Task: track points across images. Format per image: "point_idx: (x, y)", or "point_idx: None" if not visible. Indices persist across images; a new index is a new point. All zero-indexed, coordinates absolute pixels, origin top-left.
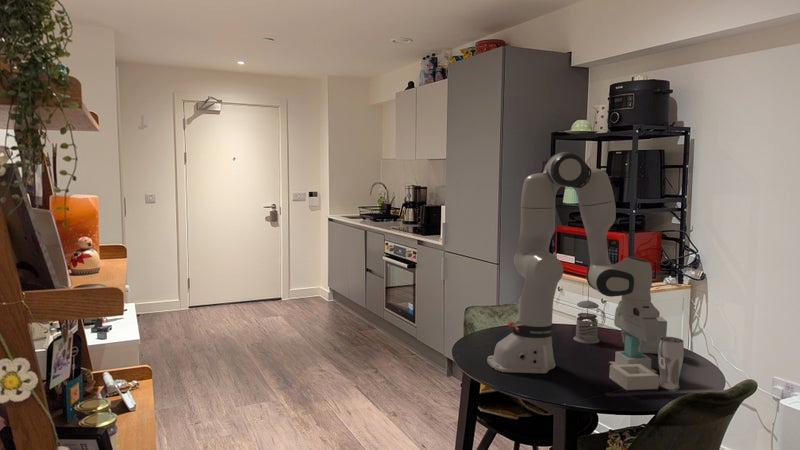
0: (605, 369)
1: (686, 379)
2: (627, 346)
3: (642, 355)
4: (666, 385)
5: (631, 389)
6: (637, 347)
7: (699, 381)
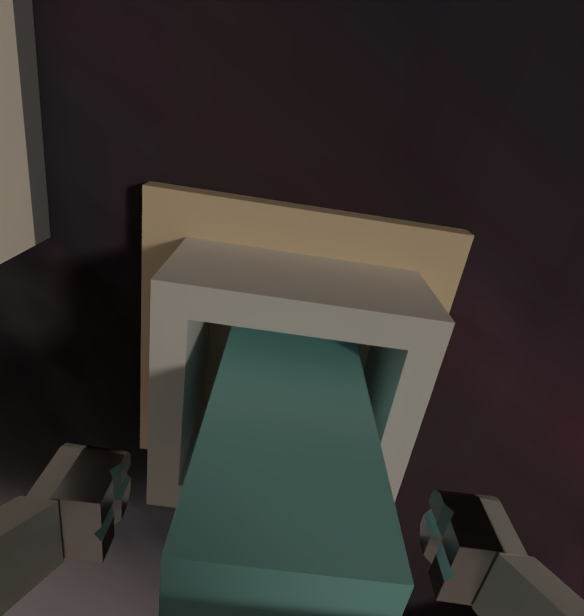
0: (352, 95)
1: None
2: (304, 437)
3: None
4: None
5: None
6: (106, 483)
7: None
